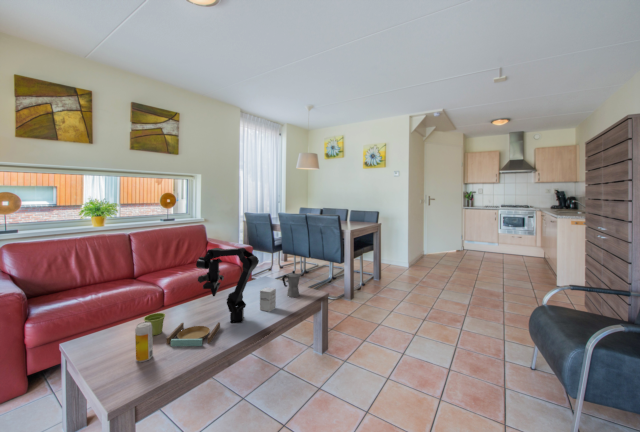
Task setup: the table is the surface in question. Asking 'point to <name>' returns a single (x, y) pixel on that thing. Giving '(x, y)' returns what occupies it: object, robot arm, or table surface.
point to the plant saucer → (194, 332)
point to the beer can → (144, 341)
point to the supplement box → (267, 299)
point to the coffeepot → (292, 284)
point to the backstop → (186, 342)
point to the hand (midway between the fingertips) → (214, 296)
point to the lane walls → (183, 327)
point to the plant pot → (155, 322)
